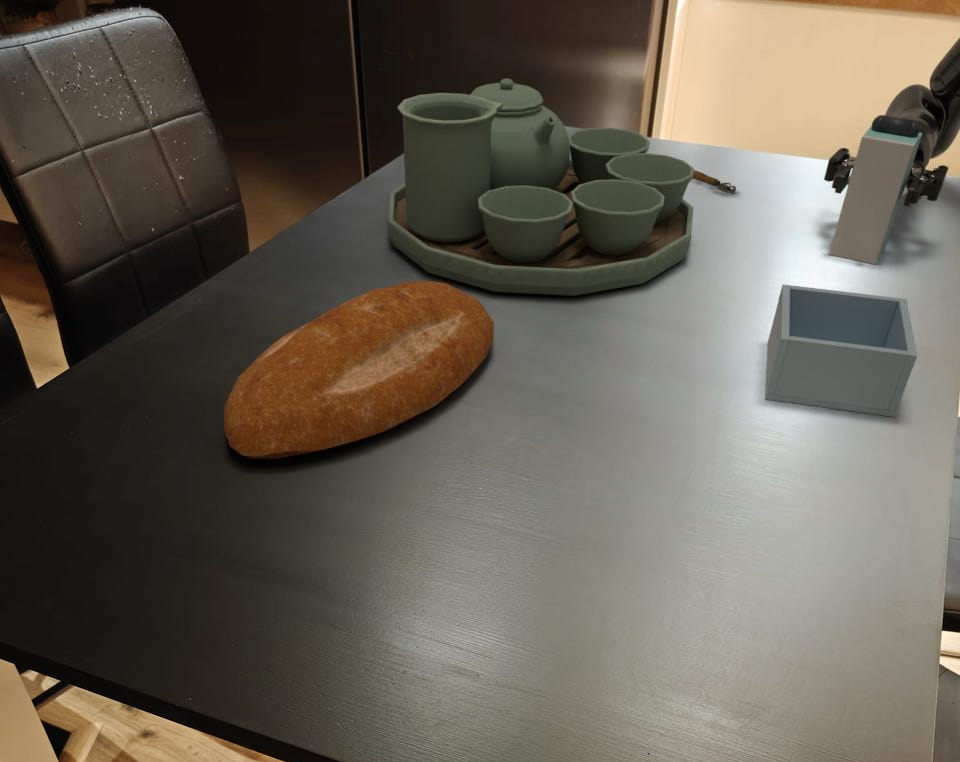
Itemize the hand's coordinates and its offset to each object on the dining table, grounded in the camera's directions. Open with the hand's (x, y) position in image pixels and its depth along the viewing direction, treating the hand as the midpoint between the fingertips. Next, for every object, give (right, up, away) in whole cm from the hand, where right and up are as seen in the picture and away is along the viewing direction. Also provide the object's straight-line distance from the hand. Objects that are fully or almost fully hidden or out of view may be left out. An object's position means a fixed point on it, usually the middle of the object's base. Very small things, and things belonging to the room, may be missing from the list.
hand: (873, 191), depth 115 cm
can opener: (-14, +12, +24) cm, 31 cm away
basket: (-12, -28, -17) cm, 34 cm away
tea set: (-40, -1, +9) cm, 42 cm away
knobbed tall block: (+1, -5, +7) cm, 8 cm away
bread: (-60, -30, -20) cm, 70 cm away
